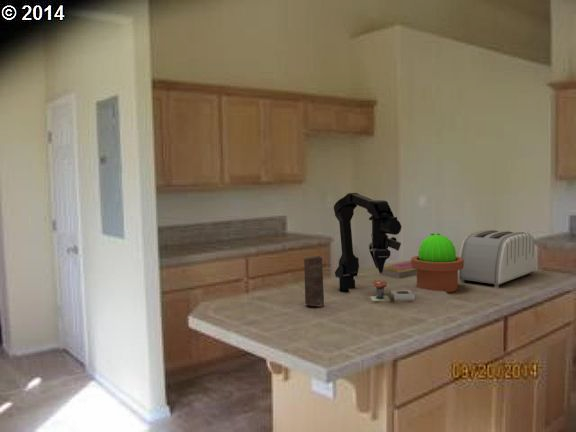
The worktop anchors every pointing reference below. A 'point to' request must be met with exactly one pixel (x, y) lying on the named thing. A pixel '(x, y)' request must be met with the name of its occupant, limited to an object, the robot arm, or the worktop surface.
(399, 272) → the flat patterned box
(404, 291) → the block
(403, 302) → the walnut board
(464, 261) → the toaster
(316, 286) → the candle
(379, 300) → the rubber pad
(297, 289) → the worktop surface
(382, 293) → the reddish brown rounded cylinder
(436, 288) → the potted cactus
